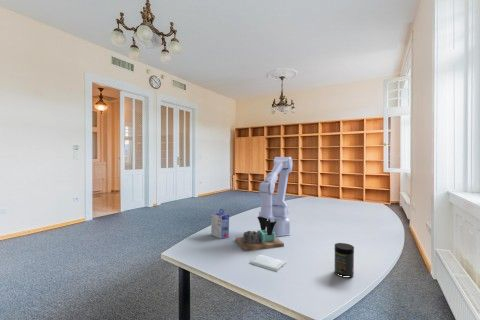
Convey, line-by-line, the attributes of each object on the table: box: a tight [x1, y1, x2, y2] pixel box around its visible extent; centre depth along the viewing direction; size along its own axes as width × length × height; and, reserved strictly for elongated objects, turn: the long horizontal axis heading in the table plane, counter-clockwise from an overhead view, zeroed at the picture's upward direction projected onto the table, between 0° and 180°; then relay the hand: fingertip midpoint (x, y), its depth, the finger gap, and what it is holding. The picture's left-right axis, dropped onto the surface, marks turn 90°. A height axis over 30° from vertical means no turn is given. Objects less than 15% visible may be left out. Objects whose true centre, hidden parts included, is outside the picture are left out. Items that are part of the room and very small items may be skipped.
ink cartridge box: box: [210, 208, 230, 240], centre depth 133 cm, size 10×6×14 cm, turn 41°
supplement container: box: [333, 242, 355, 277], centre depth 91 cm, size 7×7×10 cm
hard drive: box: [249, 254, 287, 272], centre depth 99 cm, size 2×8×12 cm
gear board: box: [235, 229, 285, 252], centre depth 122 cm, size 20×15×6 cm
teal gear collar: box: [256, 229, 275, 243], centre depth 123 cm, size 7×7×4 cm
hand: (266, 232), depth 123 cm, fingers open, 7 cm apart
